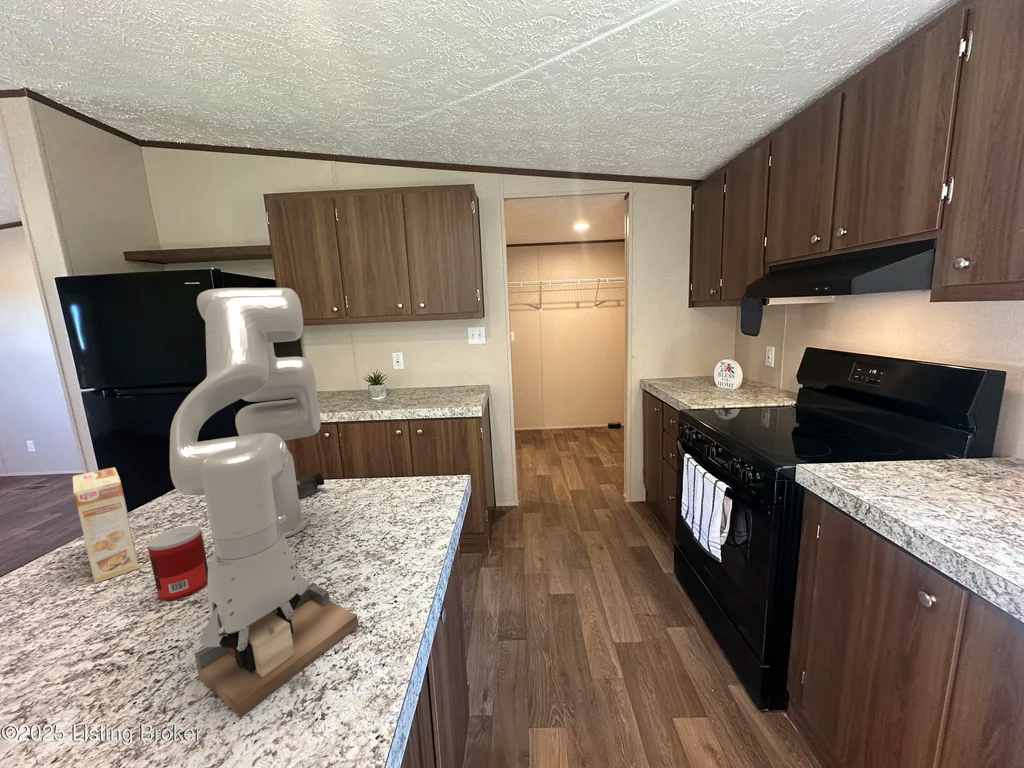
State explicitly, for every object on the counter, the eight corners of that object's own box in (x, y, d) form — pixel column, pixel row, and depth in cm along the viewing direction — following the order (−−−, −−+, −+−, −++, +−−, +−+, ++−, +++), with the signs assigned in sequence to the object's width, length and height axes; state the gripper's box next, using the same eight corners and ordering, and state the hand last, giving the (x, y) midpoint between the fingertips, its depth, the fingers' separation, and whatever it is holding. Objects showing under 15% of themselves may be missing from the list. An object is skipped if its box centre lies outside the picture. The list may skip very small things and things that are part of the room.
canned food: (219, 578, 83) (210, 527, 81) (176, 605, 75) (165, 549, 74) (193, 572, 85) (183, 522, 84) (148, 597, 78) (137, 543, 76)
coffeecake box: (140, 568, 88) (121, 481, 85) (93, 585, 83) (71, 493, 80) (132, 544, 98) (115, 465, 95) (90, 558, 93) (70, 475, 90)
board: (199, 677, 59) (194, 653, 59) (315, 602, 74) (312, 582, 74) (240, 717, 53) (235, 690, 52) (358, 626, 68) (355, 604, 67)
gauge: (228, 652, 61) (219, 603, 60) (263, 630, 65) (256, 584, 64) (260, 679, 56) (251, 626, 55) (296, 653, 60) (288, 603, 59)
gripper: (292, 506, 66) (307, 609, 69) (161, 562, 52) (187, 688, 55) (320, 517, 62) (335, 626, 65) (186, 580, 48) (212, 715, 51)
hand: (267, 653), depth 60 cm, fingers closed on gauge, 4 cm apart
